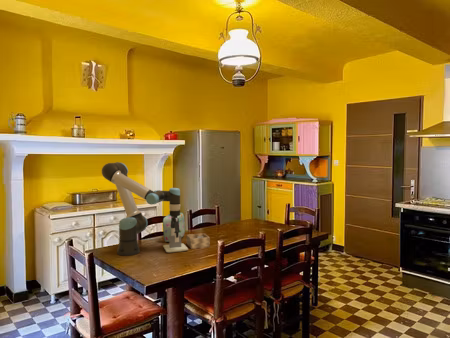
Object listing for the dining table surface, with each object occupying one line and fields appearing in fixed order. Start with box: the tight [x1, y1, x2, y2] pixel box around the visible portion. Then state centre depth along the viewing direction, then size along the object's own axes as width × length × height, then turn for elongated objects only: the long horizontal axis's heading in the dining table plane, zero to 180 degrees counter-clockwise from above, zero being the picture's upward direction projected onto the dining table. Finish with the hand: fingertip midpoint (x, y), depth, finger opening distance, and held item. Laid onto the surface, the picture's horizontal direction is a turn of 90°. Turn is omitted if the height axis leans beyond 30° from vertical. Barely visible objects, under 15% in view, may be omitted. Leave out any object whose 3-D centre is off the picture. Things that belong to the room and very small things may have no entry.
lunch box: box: [162, 212, 186, 243], centre depth 277 cm, size 27×10×21 cm, turn 168°
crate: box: [186, 233, 211, 250], centre depth 260 cm, size 14×14×7 cm
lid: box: [162, 235, 189, 253], centre depth 249 cm, size 15×15×10 cm
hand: (174, 239), depth 249 cm, fingers open, 13 cm apart
